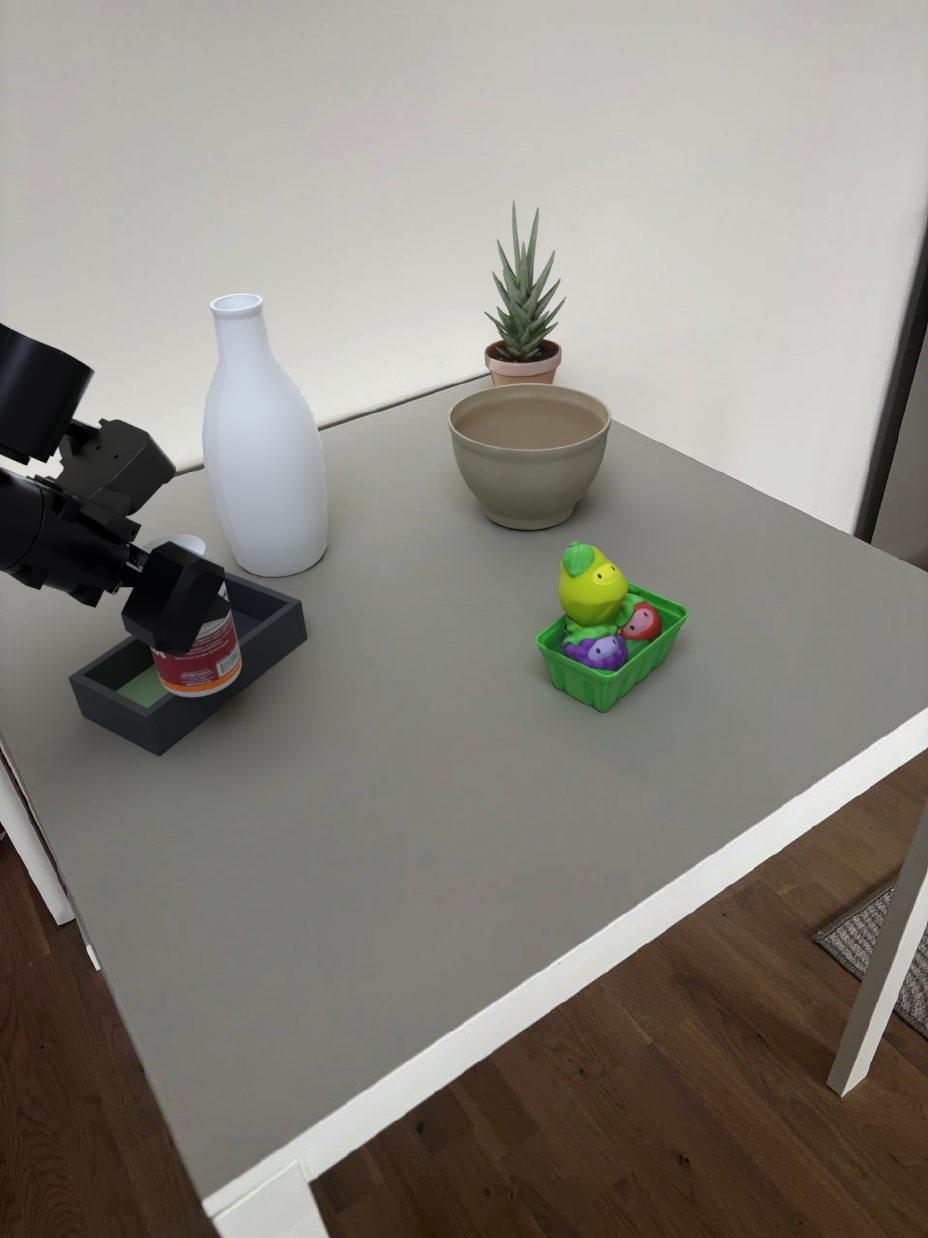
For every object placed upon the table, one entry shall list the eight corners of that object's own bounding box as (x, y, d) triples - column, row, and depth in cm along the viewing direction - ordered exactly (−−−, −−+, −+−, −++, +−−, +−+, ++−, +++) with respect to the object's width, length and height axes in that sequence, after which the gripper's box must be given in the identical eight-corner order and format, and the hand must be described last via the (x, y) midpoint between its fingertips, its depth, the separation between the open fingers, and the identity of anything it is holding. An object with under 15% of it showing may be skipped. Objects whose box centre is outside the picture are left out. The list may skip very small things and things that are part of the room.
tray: (158, 757, 74) (146, 717, 72) (82, 716, 79) (67, 677, 76) (308, 638, 86) (301, 600, 83) (233, 608, 90) (225, 571, 88)
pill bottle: (157, 659, 75) (123, 536, 69) (237, 642, 76) (211, 520, 70) (162, 709, 70) (126, 582, 64) (248, 690, 72) (221, 564, 65)
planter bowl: (624, 539, 97) (631, 440, 91) (465, 558, 95) (461, 458, 89) (584, 466, 110) (587, 374, 103) (443, 481, 108) (438, 389, 102)
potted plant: (531, 383, 129) (532, 185, 115) (575, 407, 123) (581, 200, 108) (468, 402, 125) (460, 199, 111) (510, 428, 119) (507, 216, 104)
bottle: (348, 570, 94) (314, 311, 79) (234, 595, 92) (176, 332, 77) (323, 516, 103) (288, 273, 88) (218, 538, 100) (163, 291, 85)
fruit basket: (606, 729, 75) (614, 611, 68) (519, 682, 80) (518, 567, 73) (687, 659, 81) (701, 544, 75) (601, 618, 86) (608, 508, 80)
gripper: (164, 442, 52) (337, 535, 65) (-6, 366, 62) (172, 459, 75) (73, 628, 52) (264, 684, 65) (-83, 521, 62) (109, 588, 75)
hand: (200, 594), depth 70 cm, fingers closed on pill bottle, 6 cm apart
